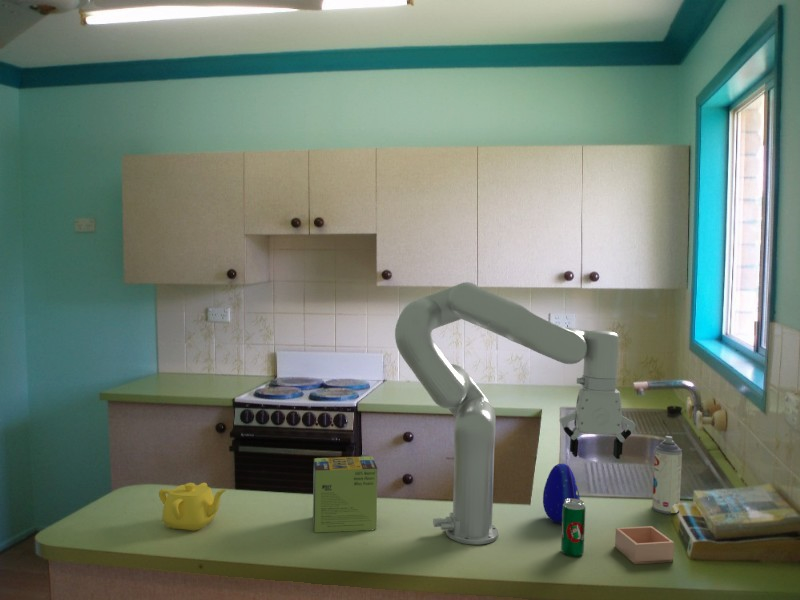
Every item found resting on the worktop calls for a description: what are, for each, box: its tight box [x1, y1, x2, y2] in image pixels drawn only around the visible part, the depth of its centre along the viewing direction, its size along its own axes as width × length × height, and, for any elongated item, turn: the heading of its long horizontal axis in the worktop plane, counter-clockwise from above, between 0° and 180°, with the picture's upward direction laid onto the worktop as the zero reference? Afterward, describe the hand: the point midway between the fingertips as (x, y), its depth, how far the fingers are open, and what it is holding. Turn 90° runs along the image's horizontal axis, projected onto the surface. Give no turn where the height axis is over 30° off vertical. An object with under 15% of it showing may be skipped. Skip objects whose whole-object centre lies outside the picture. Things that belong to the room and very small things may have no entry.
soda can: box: [560, 498, 587, 558], centre depth 156 cm, size 5×5×12 cm
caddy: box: [614, 525, 675, 565], centre depth 156 cm, size 9×9×4 cm
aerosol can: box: [651, 435, 683, 515], centre depth 184 cm, size 7×7×20 cm
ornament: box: [542, 463, 581, 524], centre depth 175 cm, size 11×9×15 cm
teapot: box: [158, 482, 227, 532], centre depth 168 cm, size 14×13×10 cm
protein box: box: [312, 456, 378, 534], centre depth 170 cm, size 10×15×16 cm
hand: (595, 456), depth 160 cm, fingers open, 9 cm apart
